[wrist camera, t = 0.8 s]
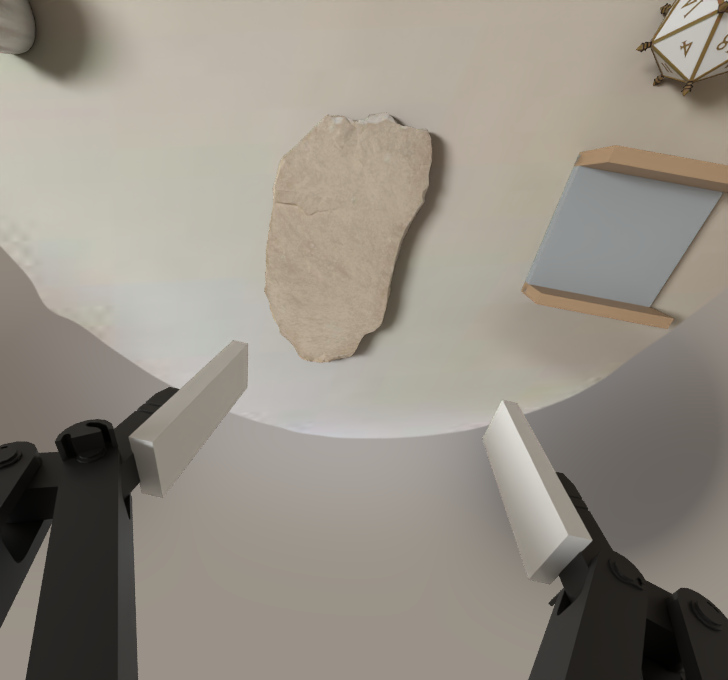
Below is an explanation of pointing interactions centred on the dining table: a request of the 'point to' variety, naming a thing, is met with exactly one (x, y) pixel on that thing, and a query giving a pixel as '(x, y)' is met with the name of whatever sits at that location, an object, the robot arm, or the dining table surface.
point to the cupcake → (16, 26)
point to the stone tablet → (342, 229)
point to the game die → (691, 41)
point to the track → (622, 232)
